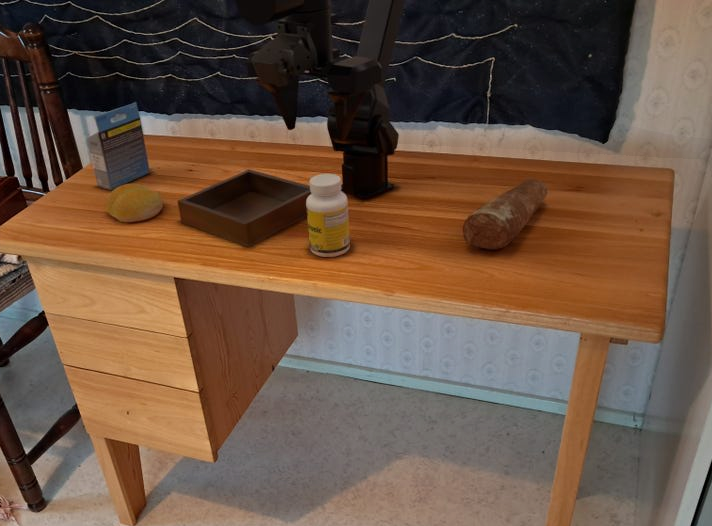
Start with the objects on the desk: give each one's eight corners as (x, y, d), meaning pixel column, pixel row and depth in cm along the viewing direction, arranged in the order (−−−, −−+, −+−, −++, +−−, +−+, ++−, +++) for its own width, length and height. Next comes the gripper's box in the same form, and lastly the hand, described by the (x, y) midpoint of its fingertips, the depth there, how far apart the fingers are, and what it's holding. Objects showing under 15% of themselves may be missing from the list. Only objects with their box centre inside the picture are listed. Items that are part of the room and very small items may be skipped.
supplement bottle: (304, 245, 100) (298, 175, 95) (342, 237, 102) (338, 168, 96) (317, 261, 96) (311, 190, 91) (356, 253, 97) (353, 182, 92)
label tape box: (137, 169, 130) (121, 98, 123) (152, 173, 128) (137, 101, 121) (97, 186, 125) (78, 113, 118) (112, 191, 123) (94, 116, 116)
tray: (251, 190, 118) (248, 169, 116) (319, 210, 110) (317, 188, 108) (181, 222, 110) (177, 200, 108) (248, 247, 101) (245, 223, 99)
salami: (458, 251, 95) (460, 210, 92) (517, 198, 108) (521, 161, 104) (504, 261, 92) (508, 220, 89) (560, 205, 104) (565, 167, 101)
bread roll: (128, 229, 110) (122, 203, 107) (100, 213, 115) (94, 188, 113) (175, 211, 114) (170, 186, 111) (145, 196, 120) (140, 172, 117)
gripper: (208, 16, 91) (225, 140, 100) (320, 27, 80) (328, 166, 89) (271, -1, 98) (282, 118, 107) (383, 8, 87) (385, 139, 96)
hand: (316, 134), depth 99 cm, fingers open, 9 cm apart
